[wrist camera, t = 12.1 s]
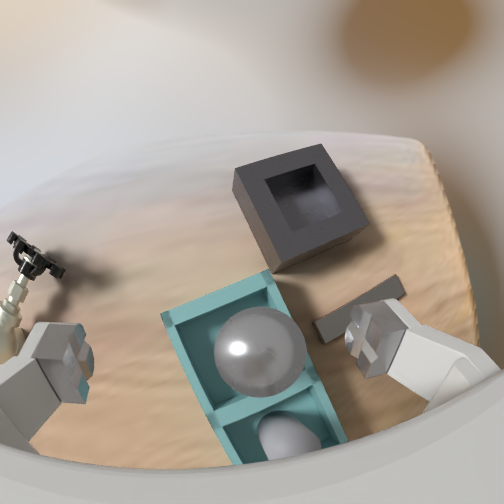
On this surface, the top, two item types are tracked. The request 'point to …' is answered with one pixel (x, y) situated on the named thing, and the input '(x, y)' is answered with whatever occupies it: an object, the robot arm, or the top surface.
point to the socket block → (297, 205)
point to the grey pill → (260, 352)
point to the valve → (21, 294)
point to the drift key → (340, 317)
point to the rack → (241, 406)
